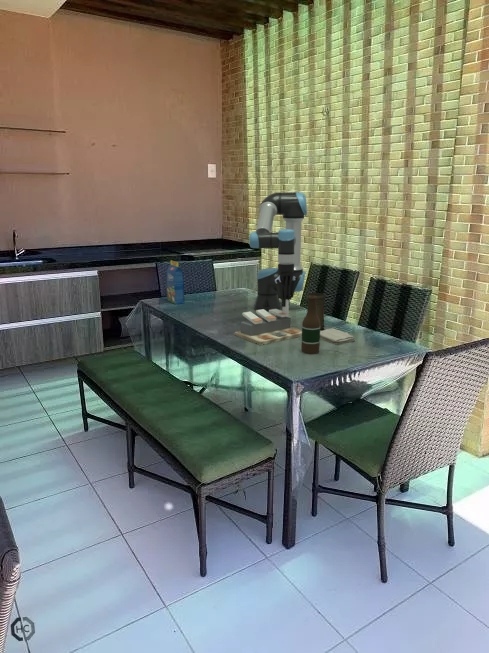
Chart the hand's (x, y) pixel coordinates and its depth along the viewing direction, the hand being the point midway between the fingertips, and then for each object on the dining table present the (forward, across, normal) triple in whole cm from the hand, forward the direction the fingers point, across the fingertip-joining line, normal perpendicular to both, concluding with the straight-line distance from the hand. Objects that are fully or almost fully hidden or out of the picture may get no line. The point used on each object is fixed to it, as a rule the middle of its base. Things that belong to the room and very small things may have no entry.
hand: (285, 313), depth 236 cm
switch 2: (+2, 0, -5) cm, 6 cm away
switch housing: (+8, +8, -5) cm, 12 cm away
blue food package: (+7, +10, -91) cm, 92 cm away
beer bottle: (+11, +10, +28) cm, 31 cm away
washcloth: (+11, -12, +20) cm, 26 cm away
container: (+10, -14, +6) cm, 18 cm away
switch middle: (+2, +8, -5) cm, 10 cm away
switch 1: (+2, +16, -5) cm, 17 cm away
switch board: (+10, +8, -1) cm, 13 cm away
